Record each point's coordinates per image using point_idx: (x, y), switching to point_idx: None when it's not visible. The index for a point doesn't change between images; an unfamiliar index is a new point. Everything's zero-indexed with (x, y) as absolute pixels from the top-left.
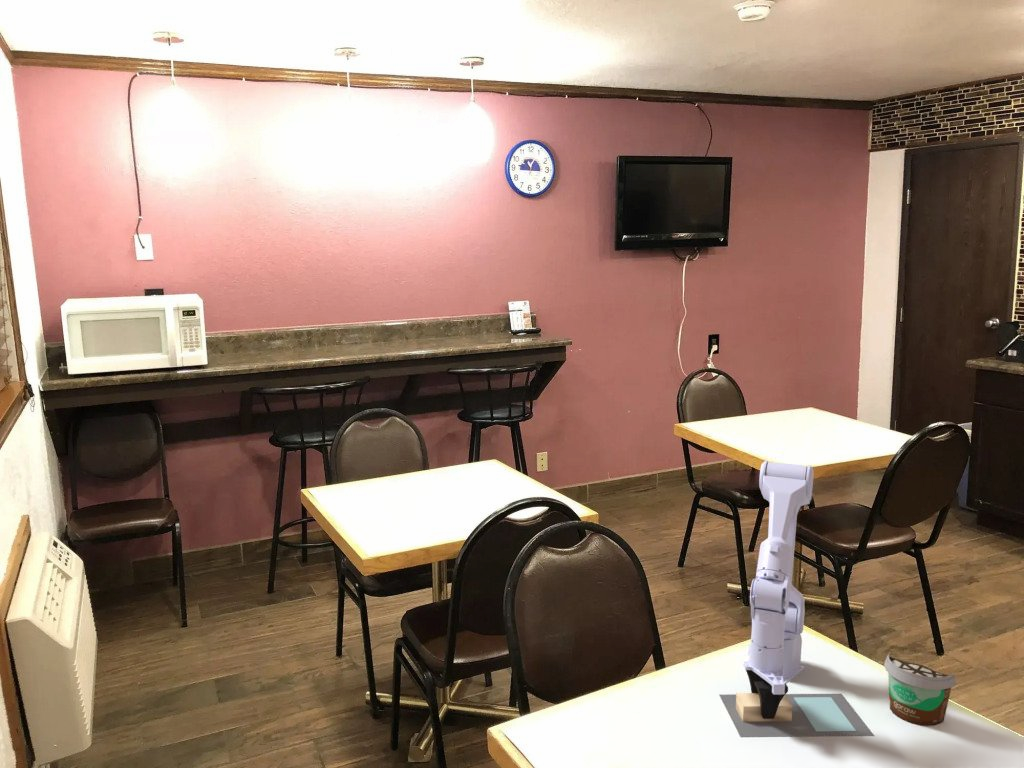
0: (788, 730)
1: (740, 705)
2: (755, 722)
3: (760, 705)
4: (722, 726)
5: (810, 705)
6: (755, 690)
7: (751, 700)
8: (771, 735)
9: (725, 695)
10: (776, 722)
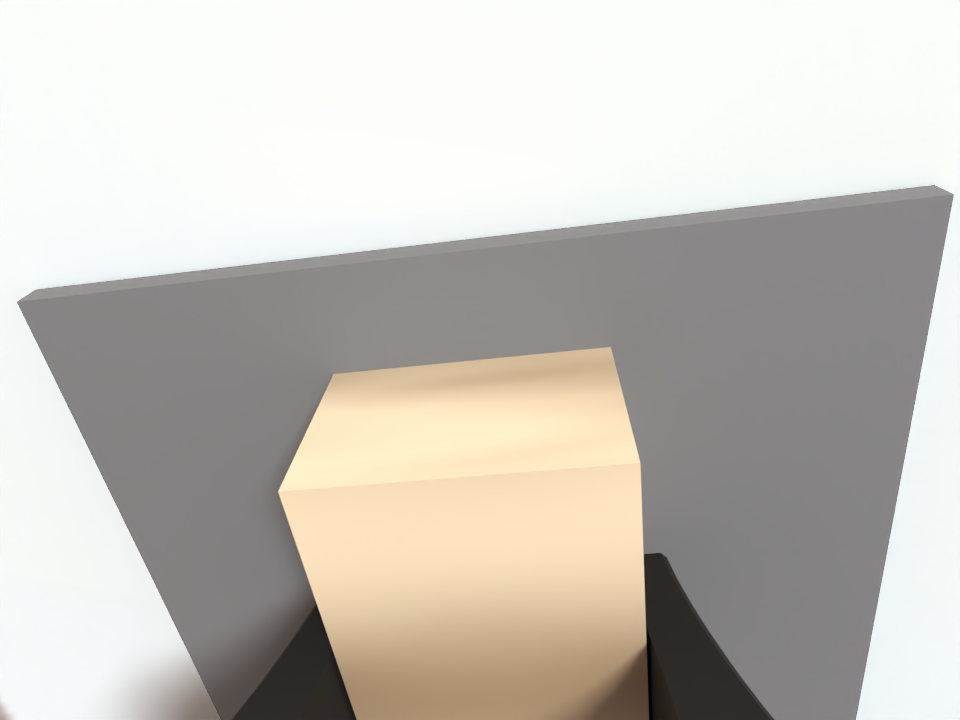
0: None
1: (422, 440)
2: None
3: (311, 672)
4: (238, 127)
5: None
6: (662, 695)
7: (455, 599)
8: (159, 563)
9: (914, 274)
10: None
